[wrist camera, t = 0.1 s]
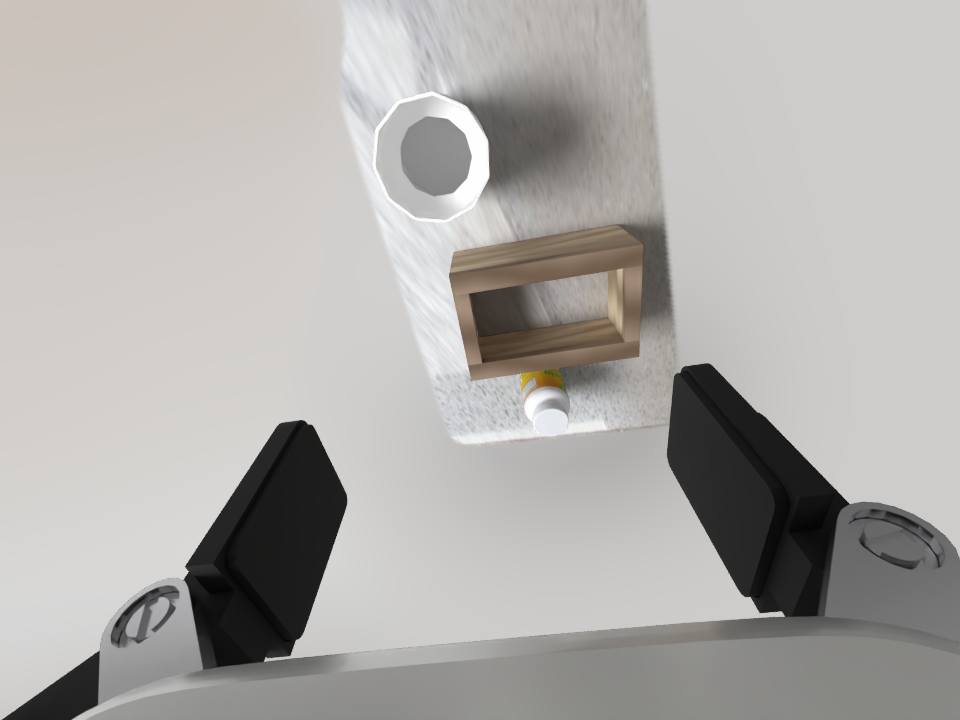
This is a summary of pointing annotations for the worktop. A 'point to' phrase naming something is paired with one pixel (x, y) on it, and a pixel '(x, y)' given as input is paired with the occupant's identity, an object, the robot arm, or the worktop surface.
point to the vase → (431, 157)
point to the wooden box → (547, 263)
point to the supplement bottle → (545, 401)
